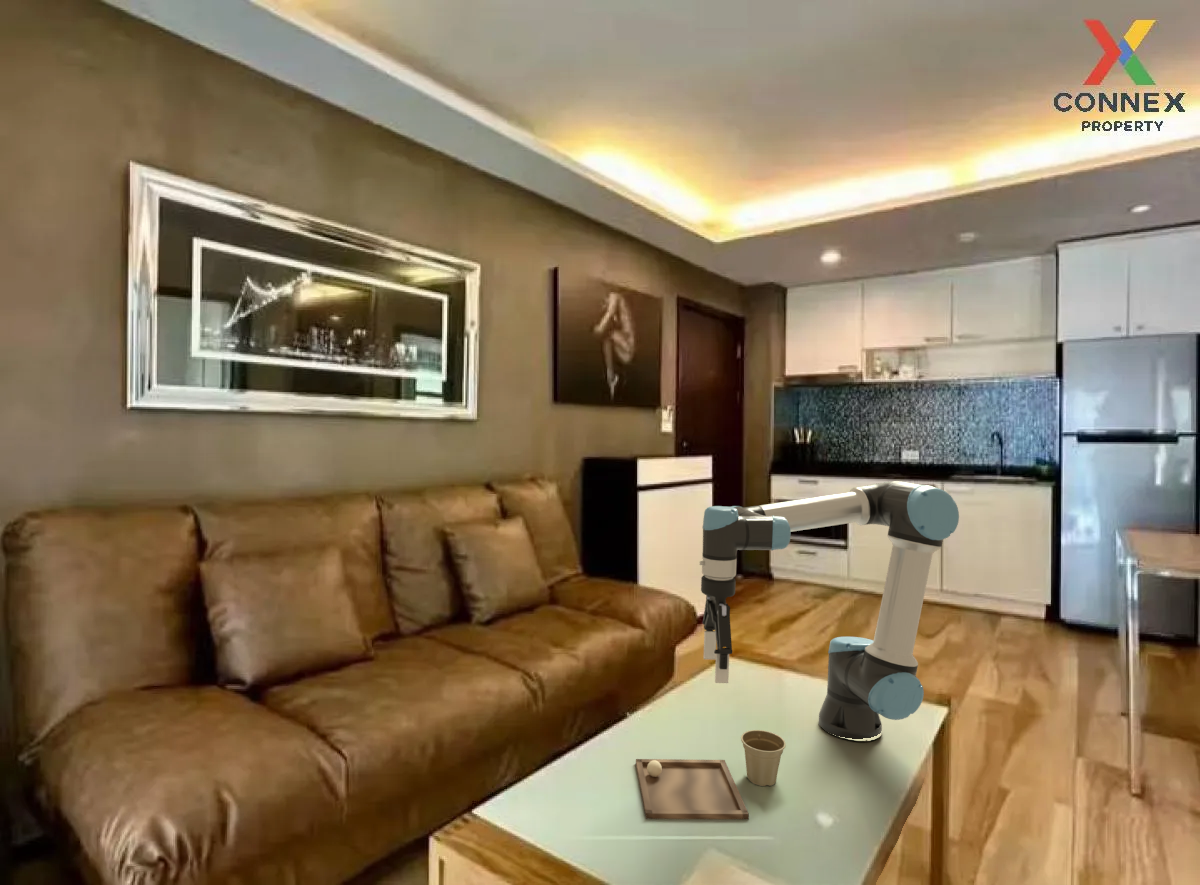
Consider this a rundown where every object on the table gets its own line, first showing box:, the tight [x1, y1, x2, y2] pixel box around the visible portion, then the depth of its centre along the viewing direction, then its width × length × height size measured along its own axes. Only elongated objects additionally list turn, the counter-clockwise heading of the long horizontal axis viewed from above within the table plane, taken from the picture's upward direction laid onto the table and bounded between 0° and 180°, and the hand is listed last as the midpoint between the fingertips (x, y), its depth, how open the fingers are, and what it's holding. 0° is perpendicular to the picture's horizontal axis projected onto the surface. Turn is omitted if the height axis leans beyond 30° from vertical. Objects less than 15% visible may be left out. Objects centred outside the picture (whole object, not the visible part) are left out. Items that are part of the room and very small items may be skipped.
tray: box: [635, 758, 750, 820], centre depth 136 cm, size 20×20×2 cm
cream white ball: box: [647, 760, 662, 777], centre depth 140 cm, size 3×3×3 cm
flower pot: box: [740, 729, 787, 787], centre depth 141 cm, size 9×9×9 cm
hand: (715, 670), depth 146 cm, fingers open, 13 cm apart
